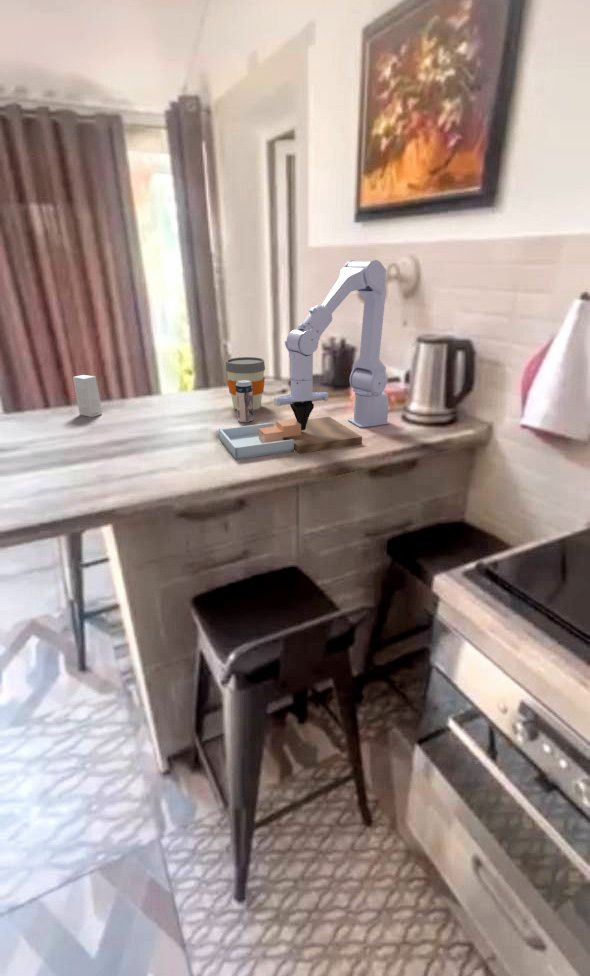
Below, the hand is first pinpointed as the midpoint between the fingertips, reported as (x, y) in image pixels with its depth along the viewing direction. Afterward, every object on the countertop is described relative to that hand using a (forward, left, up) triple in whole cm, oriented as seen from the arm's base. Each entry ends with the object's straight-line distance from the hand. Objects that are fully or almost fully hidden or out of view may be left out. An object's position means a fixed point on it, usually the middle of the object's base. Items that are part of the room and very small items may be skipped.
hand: (301, 429), depth 137 cm
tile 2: (+4, 0, -1) cm, 4 cm away
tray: (+13, 0, -3) cm, 13 cm away
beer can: (+9, -22, -3) cm, 24 cm away
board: (-4, 0, -3) cm, 5 cm away
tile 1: (+9, 0, -2) cm, 9 cm away
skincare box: (+52, -48, -3) cm, 71 cm away
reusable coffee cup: (+4, -37, -3) cm, 37 cm away
